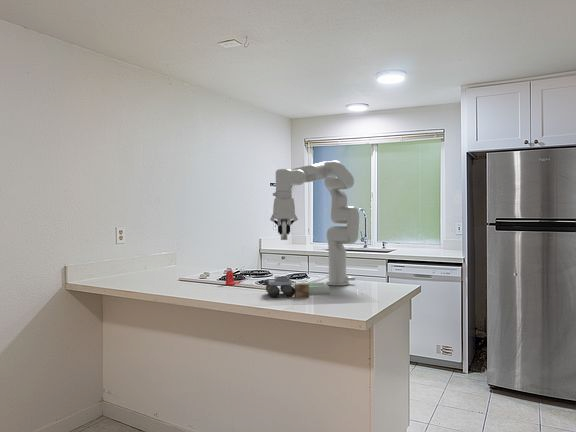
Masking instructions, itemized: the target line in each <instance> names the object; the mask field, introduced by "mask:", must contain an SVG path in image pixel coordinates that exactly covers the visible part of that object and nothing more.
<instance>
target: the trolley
mask: <svg viewBox="0 0 576 432" xmlns="http://www.w3.org/2000/svg"><path fill="white" fill-rule="evenodd" d="M278 286H280V288H279V287H278ZM265 291H266V292H267V294H268V296H269V297H270V298H272V299H275V298H277V297H279V295H280V293H281V292H282V294H283V296H285V297H286V298H292V297H294V296H295V289H294V288H293V281H292V280H291V278H290V276H288V275H287V276H285V275H283V276H280V275H279V276H274V279H268V283H267V284H266V286H265Z"/></svg>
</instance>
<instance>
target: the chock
mask: <svg viewBox="0 0 576 432" xmlns="http://www.w3.org/2000/svg"><path fill="white" fill-rule="evenodd" d="M294 283H295V294H294V297H295V298H297V299H299V298H300V299H301V298H302V299H303V298H309V297H310V294H309V284H308V283H309V282H294Z"/></svg>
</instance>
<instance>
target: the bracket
mask: <svg viewBox="0 0 576 432" xmlns="http://www.w3.org/2000/svg"><path fill="white" fill-rule="evenodd" d="M233 275H234V272H233V270H231V269H230V270H227V272H226V273H225V286H232V287H233V286H236V285H237V284H236V283H238V284H240V283H239V282H241V283H243V281H242V280H238V281H239V282H234V281H235V280H234V277H233ZM229 276H230V277H229ZM235 284H236V285H235Z"/></svg>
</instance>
